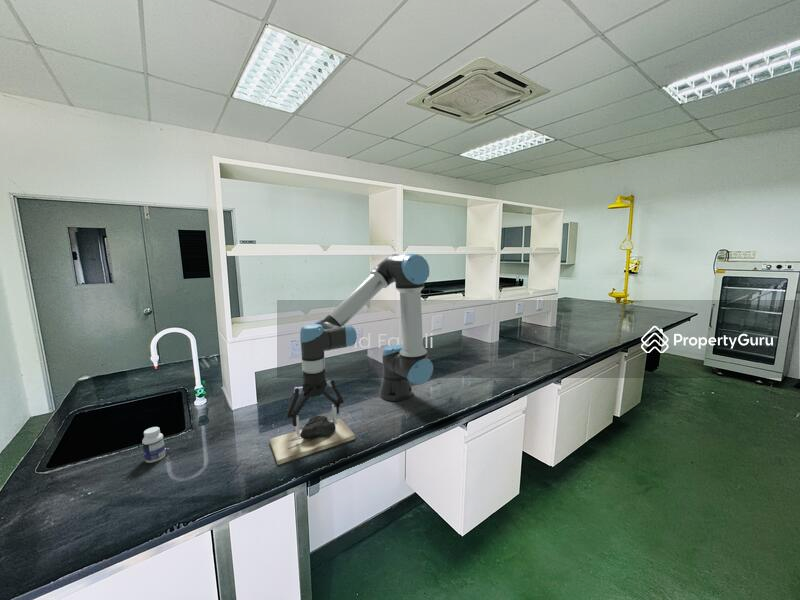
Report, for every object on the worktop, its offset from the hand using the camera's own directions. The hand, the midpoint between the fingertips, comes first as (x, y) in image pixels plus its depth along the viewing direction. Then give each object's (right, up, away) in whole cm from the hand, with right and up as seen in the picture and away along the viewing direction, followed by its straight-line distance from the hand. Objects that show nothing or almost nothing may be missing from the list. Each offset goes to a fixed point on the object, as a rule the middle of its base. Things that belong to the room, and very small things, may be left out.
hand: (316, 428), depth 112 cm
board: (-1, -4, 0) cm, 5 cm away
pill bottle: (-50, -6, -9) cm, 51 cm away
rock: (0, -3, +1) cm, 3 cm away
